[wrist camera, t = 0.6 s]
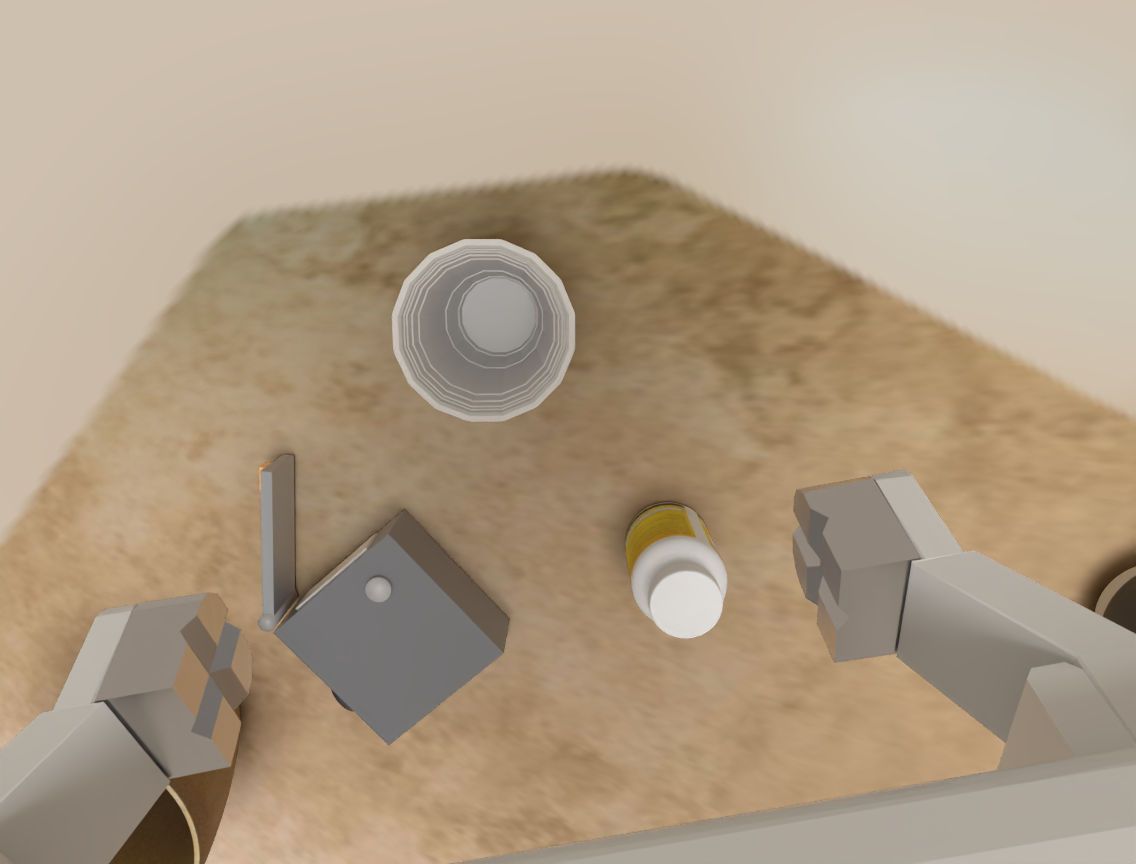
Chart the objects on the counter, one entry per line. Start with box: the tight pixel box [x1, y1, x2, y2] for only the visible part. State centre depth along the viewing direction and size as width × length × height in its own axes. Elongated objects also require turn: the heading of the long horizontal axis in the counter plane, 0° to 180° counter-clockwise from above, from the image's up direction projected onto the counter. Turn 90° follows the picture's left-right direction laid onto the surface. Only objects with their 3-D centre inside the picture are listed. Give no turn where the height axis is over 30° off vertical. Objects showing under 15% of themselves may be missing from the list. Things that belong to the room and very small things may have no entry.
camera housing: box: [274, 509, 510, 745], centre depth 62 cm, size 12×12×6 cm
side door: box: [258, 455, 298, 631], centre depth 61 cm, size 2×12×5 cm, turn 176°
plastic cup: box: [392, 239, 575, 422], centre depth 54 cm, size 11×11×12 cm
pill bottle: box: [625, 502, 727, 638], centre depth 58 cm, size 6×6×12 cm
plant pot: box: [109, 706, 240, 864], centre depth 60 cm, size 15×15×16 cm
